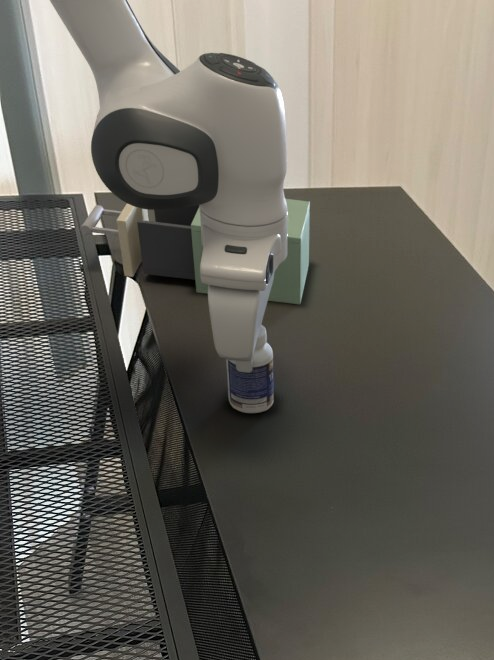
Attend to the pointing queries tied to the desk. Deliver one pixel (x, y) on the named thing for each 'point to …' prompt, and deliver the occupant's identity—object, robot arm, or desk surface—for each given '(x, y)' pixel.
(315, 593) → the desk surface
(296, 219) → the green drawer cabinet
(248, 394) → the pill bottle
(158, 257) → the drawer
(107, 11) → the robot arm
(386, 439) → the desk surface
